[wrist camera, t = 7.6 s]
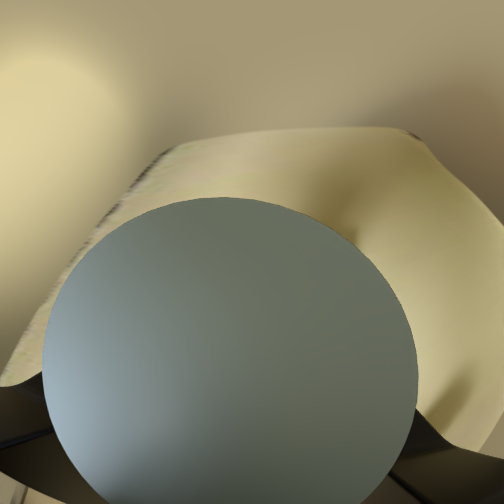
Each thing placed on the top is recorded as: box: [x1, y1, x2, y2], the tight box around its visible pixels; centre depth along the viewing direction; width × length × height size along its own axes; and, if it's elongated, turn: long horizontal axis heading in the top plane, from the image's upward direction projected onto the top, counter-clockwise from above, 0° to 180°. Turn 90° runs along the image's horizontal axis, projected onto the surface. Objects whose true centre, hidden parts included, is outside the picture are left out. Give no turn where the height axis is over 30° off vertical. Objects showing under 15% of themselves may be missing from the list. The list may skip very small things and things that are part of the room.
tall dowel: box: [42, 197, 418, 504], centre depth 9 cm, size 4×4×14 cm
